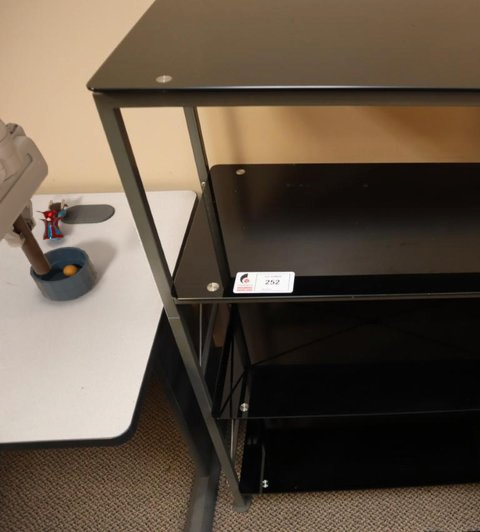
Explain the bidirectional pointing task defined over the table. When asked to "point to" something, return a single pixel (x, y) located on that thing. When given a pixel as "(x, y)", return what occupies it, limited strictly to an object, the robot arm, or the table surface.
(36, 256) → the stick
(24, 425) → the table surface
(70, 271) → the bead
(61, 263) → the bowl
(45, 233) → the hoverbike
